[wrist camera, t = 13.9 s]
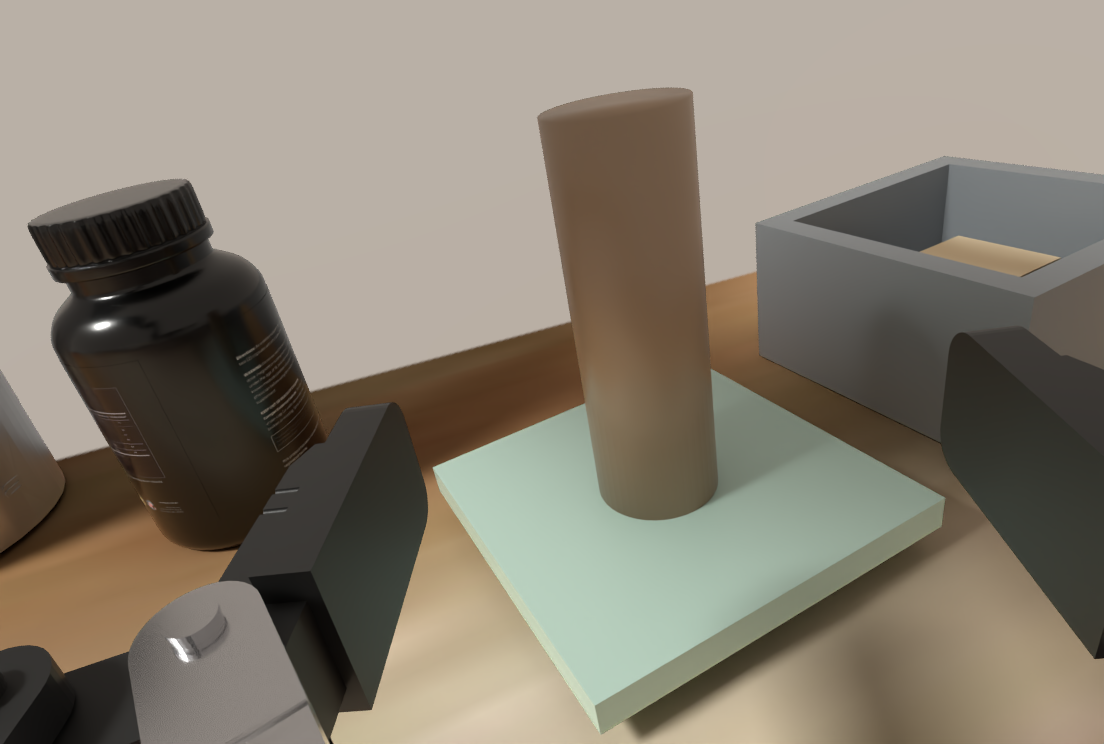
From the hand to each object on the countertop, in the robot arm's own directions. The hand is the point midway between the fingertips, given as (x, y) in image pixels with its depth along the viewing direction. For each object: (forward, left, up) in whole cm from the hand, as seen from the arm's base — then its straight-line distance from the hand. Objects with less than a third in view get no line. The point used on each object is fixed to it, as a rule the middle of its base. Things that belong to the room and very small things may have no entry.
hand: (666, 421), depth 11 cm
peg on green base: (-4, +8, -10) cm, 13 cm away
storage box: (+4, +21, -10) cm, 23 cm away
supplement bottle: (-20, +5, -10) cm, 22 cm away
